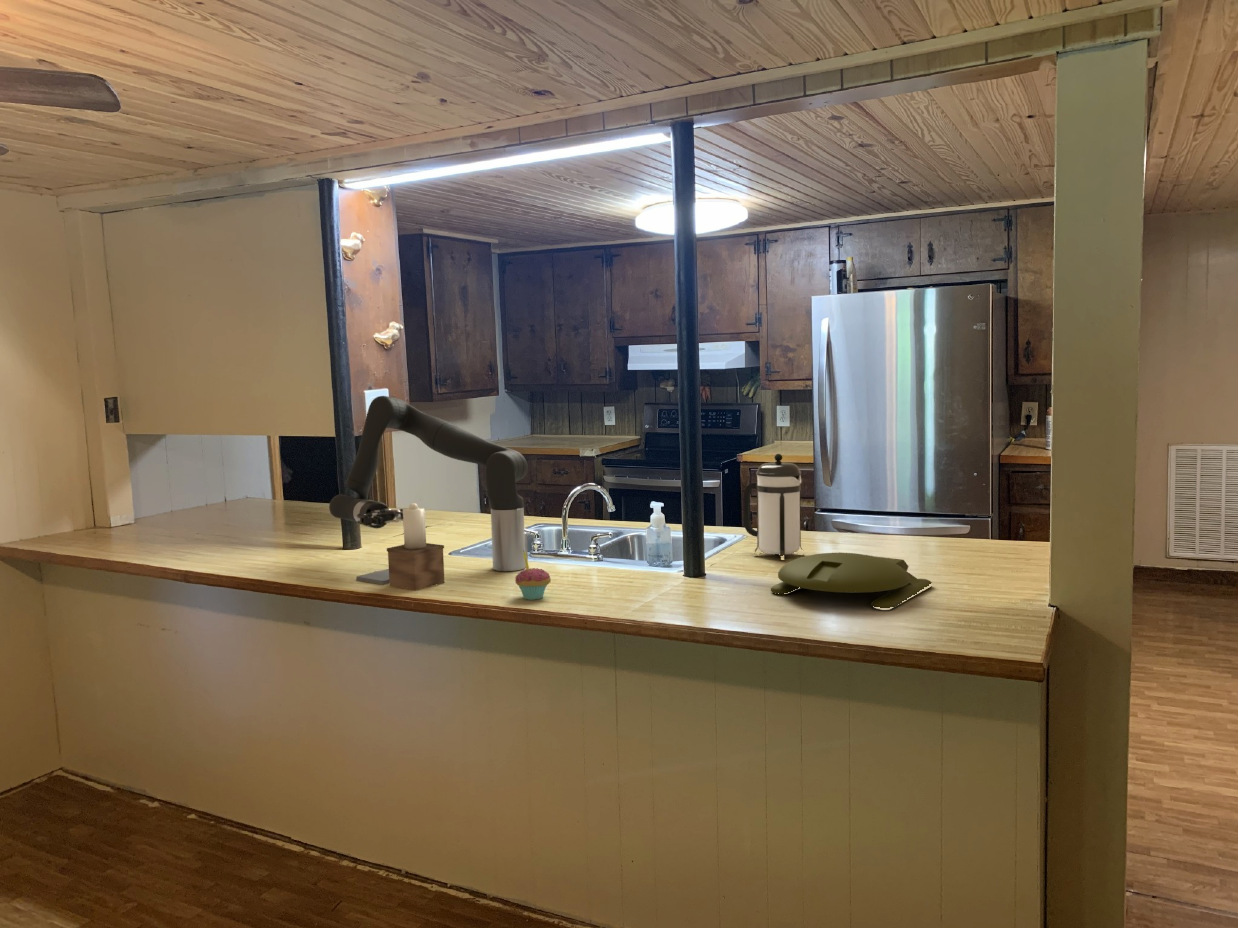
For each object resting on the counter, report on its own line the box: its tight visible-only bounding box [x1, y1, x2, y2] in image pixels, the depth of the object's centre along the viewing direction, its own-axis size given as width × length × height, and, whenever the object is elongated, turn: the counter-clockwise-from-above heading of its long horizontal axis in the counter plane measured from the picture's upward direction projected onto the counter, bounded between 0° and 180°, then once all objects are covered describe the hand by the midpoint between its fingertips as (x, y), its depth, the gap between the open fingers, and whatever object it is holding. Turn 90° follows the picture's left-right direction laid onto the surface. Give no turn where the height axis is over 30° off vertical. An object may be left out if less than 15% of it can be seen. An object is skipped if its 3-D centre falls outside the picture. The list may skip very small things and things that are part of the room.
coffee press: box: [742, 453, 803, 557], centre depth 260 cm, size 17×16×30 cm
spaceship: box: [770, 552, 933, 608], centre depth 215 cm, size 35×31×10 cm
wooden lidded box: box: [386, 542, 445, 591], centre depth 235 cm, size 10×10×10 cm
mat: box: [355, 568, 389, 585], centre depth 244 cm, size 12×11×1 cm
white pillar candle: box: [402, 502, 427, 549], centre depth 234 cm, size 6×6×12 cm
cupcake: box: [514, 549, 552, 601], centre depth 218 cm, size 9×8×12 cm
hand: (396, 519), depth 242 cm, fingers open, 8 cm apart
